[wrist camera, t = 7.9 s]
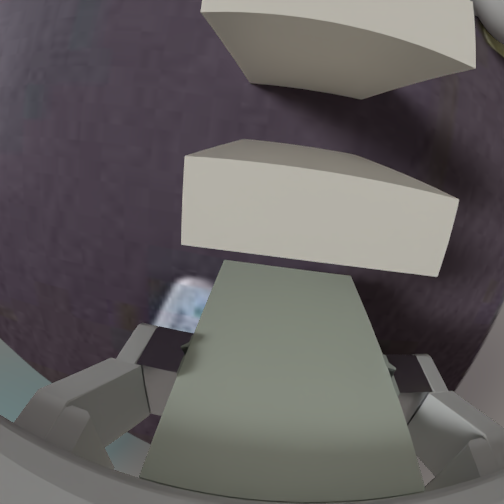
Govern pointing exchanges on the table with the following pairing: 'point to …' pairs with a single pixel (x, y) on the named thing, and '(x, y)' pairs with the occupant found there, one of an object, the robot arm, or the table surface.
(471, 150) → the table surface
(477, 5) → the smooth white sculpture
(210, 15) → the domino
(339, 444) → the domino
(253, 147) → the domino
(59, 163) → the table surface
